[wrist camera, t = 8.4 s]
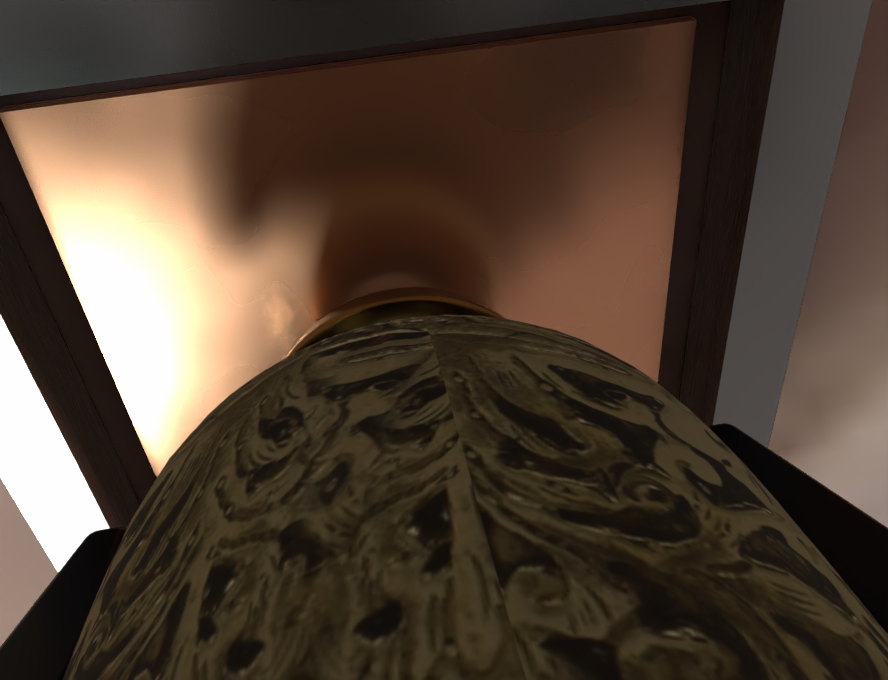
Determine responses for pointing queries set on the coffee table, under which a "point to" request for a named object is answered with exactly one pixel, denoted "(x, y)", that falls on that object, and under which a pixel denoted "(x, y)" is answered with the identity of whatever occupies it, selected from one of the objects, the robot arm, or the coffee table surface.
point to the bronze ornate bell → (464, 525)
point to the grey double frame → (392, 200)
